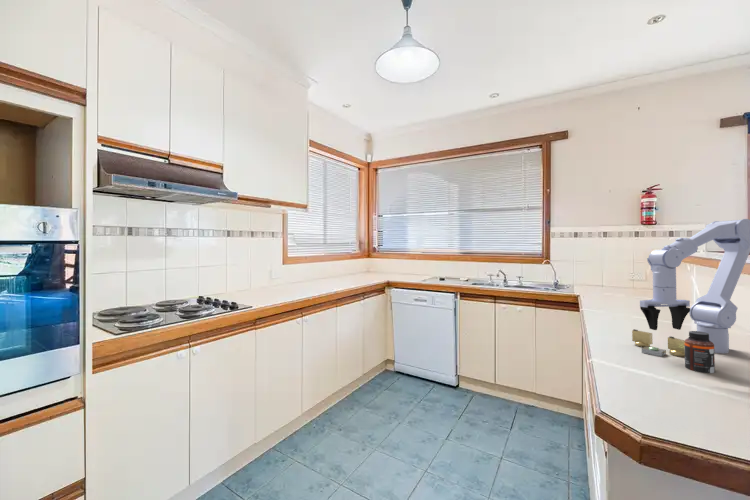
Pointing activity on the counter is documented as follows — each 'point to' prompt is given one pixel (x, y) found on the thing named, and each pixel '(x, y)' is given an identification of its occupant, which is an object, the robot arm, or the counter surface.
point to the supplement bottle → (699, 352)
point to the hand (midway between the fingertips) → (665, 329)
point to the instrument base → (654, 351)
